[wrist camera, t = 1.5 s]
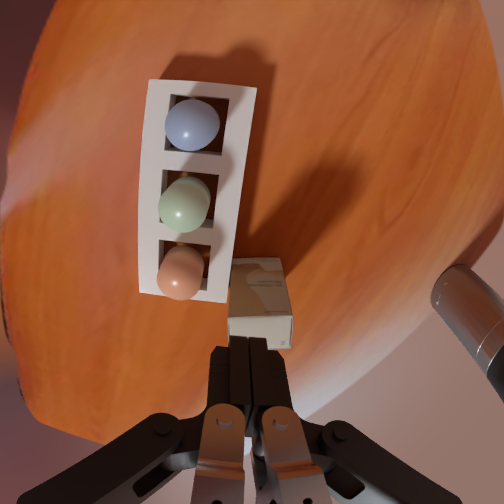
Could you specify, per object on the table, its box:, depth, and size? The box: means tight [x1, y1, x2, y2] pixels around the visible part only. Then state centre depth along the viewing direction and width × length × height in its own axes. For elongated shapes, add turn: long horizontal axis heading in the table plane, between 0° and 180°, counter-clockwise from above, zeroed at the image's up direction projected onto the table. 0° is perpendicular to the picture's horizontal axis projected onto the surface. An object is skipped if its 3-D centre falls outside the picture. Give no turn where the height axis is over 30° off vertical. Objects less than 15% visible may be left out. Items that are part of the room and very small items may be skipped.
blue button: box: [165, 99, 220, 151], centre depth 27 cm, size 5×5×4 cm
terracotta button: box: [157, 245, 204, 300], centre depth 33 cm, size 5×5×4 cm
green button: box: [158, 176, 211, 233], centre depth 30 cm, size 5×5×4 cm
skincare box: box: [228, 257, 293, 349], centre depth 33 cm, size 6×4×12 cm
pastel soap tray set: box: [138, 79, 257, 303], centre depth 33 cm, size 11×25×3 cm, turn 171°
